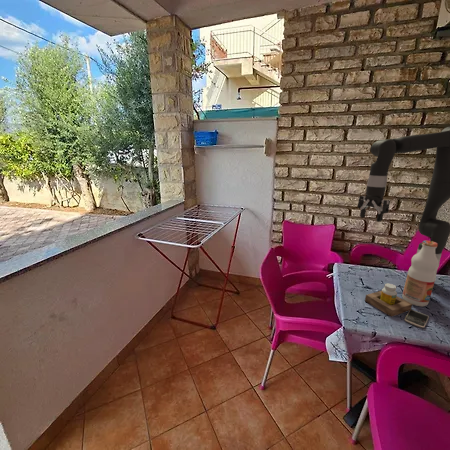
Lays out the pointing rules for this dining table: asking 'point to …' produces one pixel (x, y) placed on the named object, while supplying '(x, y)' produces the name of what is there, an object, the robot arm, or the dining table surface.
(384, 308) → the walnut holder
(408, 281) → the fruit juice
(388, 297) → the supplement bottle
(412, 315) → the cell phone
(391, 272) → the dining table surface
